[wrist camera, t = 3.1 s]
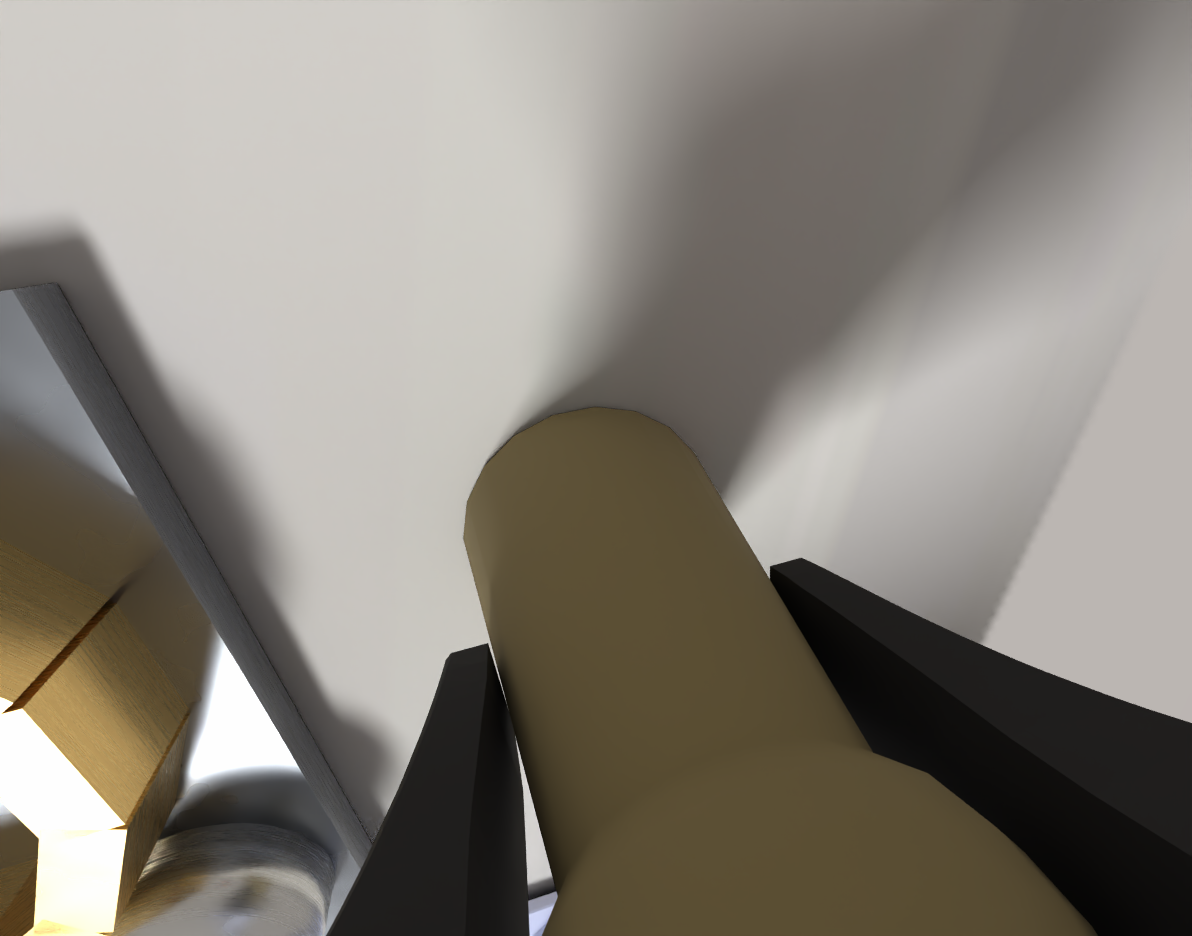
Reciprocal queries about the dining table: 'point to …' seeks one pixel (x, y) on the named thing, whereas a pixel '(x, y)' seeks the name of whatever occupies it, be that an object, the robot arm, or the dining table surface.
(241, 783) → the flanged metal plate
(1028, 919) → the cork
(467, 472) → the dining table surface
